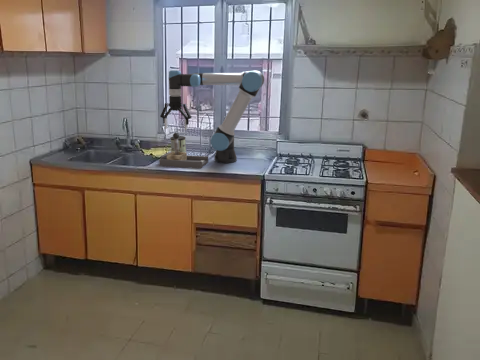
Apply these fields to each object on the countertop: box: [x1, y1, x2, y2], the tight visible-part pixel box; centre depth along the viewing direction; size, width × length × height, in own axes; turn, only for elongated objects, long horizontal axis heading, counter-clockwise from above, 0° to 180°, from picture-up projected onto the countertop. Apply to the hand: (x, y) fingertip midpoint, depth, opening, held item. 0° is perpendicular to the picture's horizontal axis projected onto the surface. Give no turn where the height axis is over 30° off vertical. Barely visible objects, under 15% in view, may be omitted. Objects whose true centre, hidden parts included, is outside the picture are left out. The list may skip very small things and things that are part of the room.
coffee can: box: [169, 135, 187, 153], centre depth 309 cm, size 10×10×14 cm
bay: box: [158, 152, 209, 169], centre depth 292 cm, size 28×16×6 cm, turn 78°
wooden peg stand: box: [167, 132, 188, 160], centre depth 291 cm, size 10×10×19 cm
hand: (176, 129), depth 288 cm, fingers open, 13 cm apart
